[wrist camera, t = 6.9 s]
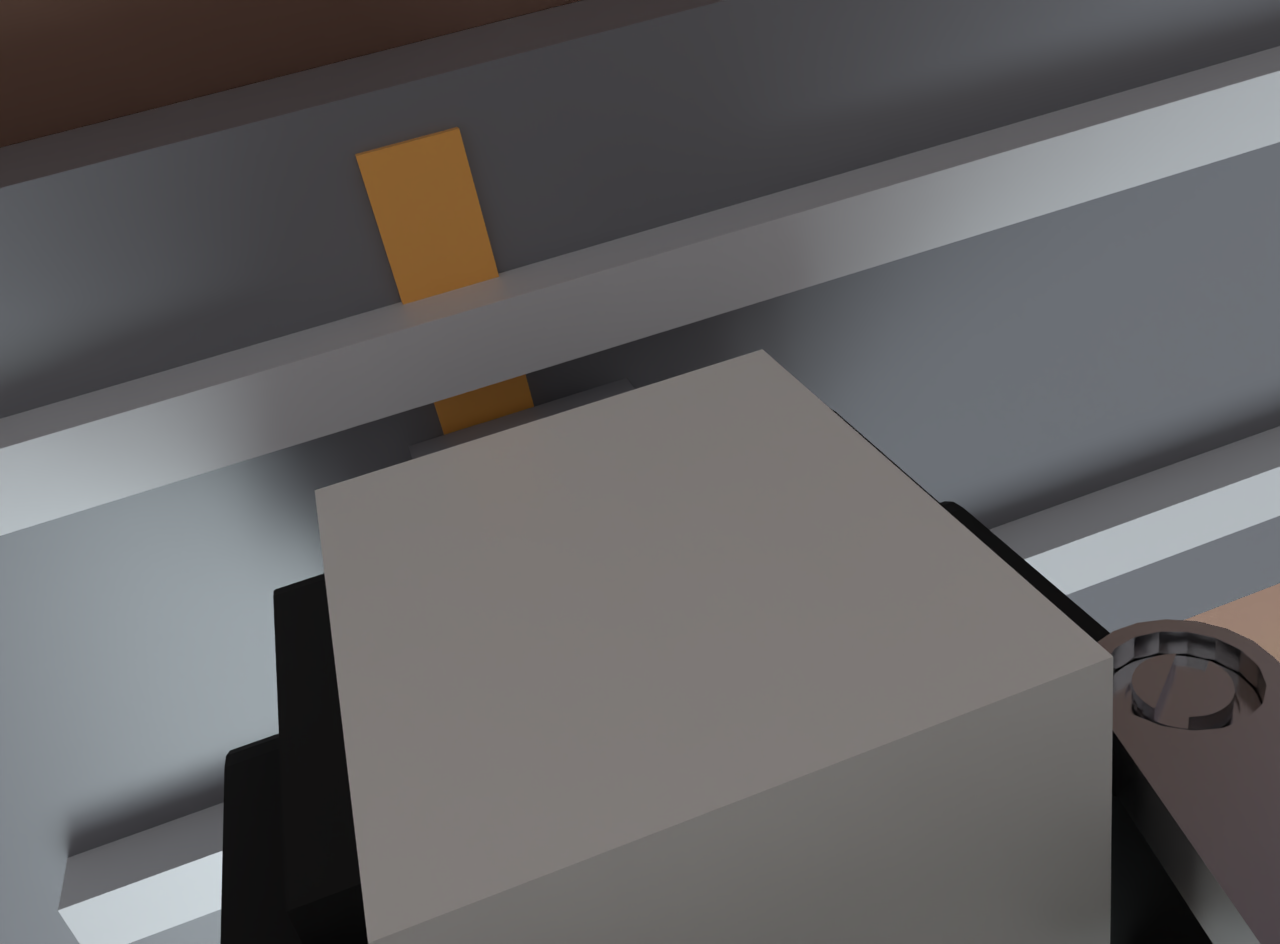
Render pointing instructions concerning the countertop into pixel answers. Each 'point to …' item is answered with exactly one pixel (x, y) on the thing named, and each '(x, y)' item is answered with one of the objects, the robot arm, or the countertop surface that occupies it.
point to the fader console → (603, 336)
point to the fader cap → (704, 688)
